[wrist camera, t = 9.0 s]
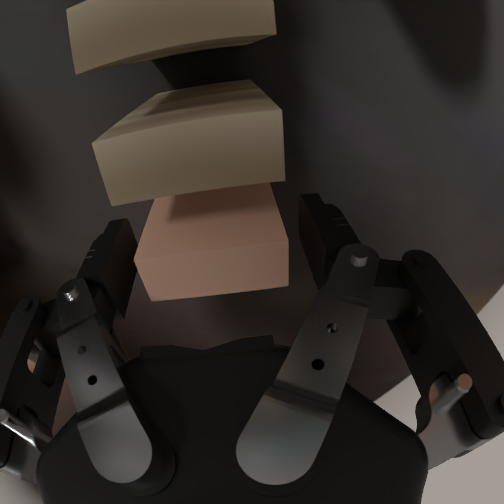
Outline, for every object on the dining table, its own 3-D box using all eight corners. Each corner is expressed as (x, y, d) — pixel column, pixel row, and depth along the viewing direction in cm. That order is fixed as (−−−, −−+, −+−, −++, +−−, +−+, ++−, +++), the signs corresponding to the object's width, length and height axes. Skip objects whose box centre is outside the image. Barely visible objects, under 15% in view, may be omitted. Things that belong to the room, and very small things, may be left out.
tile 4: (157, 93, 14) (91, 143, 7) (250, 79, 14) (282, 109, 7) (163, 127, 15) (111, 206, 8) (253, 113, 15) (285, 180, 8)
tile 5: (170, 159, 16) (133, 260, 9) (257, 147, 16) (288, 240, 9) (177, 189, 17) (151, 301, 10) (259, 178, 18) (288, 285, 10)
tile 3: (147, 27, 11) (65, 9, 4) (243, 11, 11) (269, -37, 4) (151, 60, 12) (75, 75, 5) (246, 44, 12) (276, 34, 5)
